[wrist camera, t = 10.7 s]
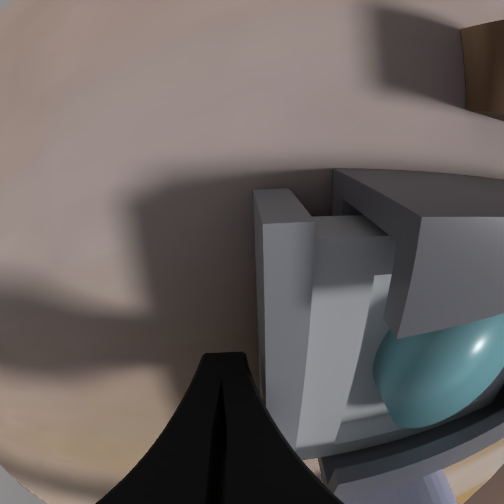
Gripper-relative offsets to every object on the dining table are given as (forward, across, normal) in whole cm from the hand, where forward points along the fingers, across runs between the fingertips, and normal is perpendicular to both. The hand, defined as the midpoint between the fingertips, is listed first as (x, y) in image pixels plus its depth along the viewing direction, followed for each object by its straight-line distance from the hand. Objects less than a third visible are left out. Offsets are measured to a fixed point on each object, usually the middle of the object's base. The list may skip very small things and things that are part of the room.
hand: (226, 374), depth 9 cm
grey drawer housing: (+2, -9, 0) cm, 9 cm away
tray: (+2, -8, 0) cm, 8 cm away
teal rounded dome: (0, -8, 0) cm, 8 cm away
